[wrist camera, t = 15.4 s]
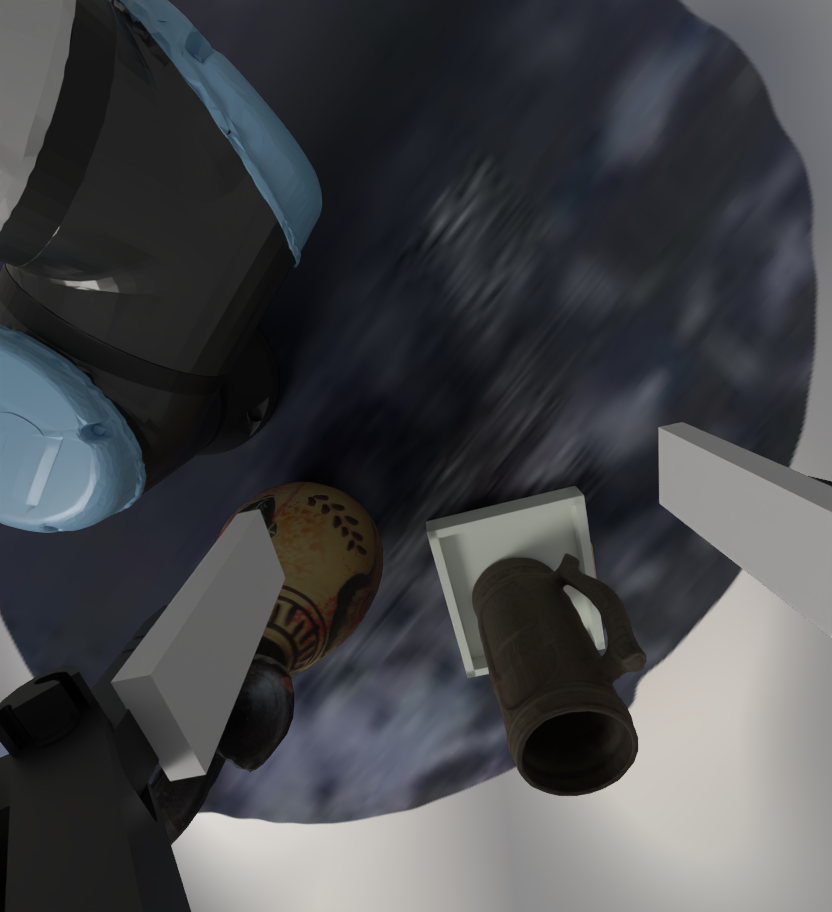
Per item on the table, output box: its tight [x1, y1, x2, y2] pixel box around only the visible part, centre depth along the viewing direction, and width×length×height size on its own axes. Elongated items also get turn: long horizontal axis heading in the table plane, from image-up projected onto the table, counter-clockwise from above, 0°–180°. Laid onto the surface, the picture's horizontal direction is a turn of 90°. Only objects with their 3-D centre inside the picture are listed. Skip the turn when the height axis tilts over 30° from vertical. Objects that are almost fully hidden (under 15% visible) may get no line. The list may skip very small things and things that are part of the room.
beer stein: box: [472, 553, 646, 796], centre depth 42 cm, size 15×11×20 cm
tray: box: [426, 486, 605, 678], centre depth 50 cm, size 17×21×2 cm
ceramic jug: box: [151, 481, 383, 845], centre depth 34 cm, size 17×15×30 cm
